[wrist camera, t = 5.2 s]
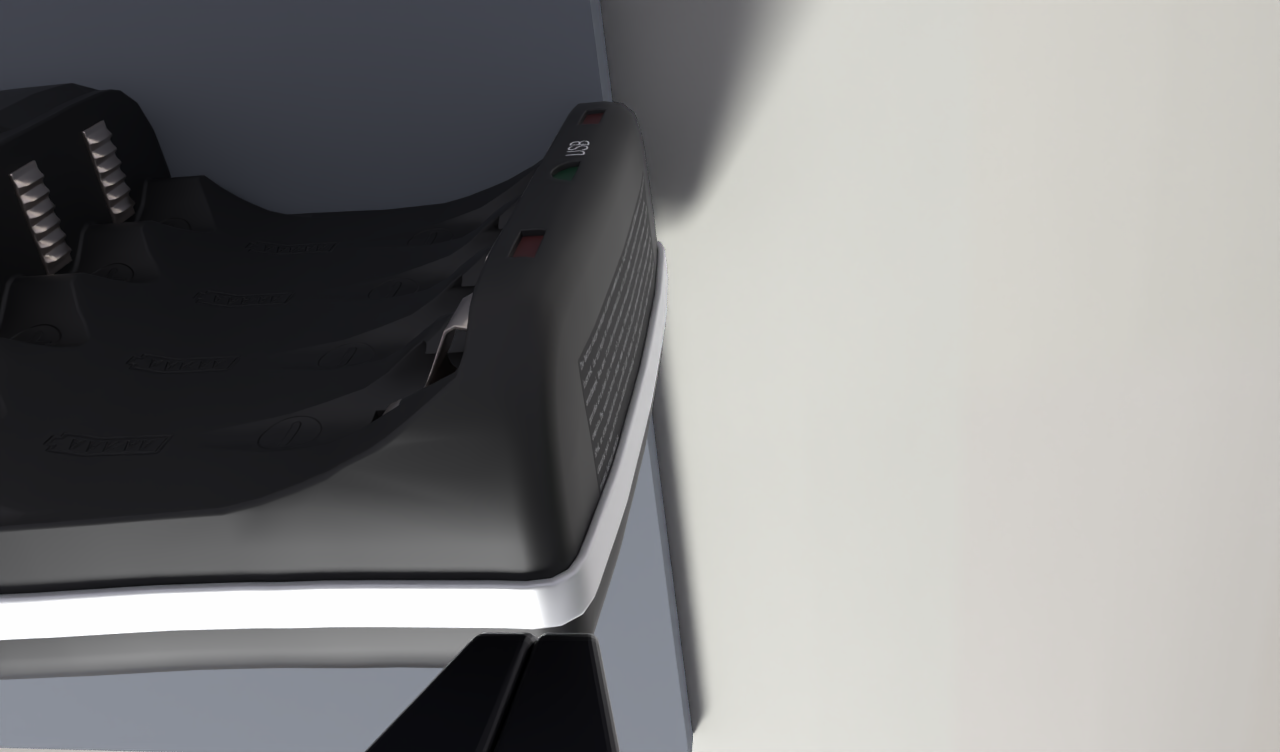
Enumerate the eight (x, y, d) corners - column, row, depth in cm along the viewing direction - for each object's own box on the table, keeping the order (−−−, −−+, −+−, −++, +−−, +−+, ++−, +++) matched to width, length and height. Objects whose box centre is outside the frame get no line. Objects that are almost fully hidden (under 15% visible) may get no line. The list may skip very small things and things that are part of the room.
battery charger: (535, 248, 7) (-926, 340, 9) (613, 709, 9) (-619, 711, 11) (655, 6, 13) (-233, 89, 15) (687, 310, 15) (-110, 354, 17)
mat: (482, -926, 10) (465, -954, 9) (693, 736, 20) (689, 765, 20) (-858, -642, 12) (-931, -652, 11) (-39, 720, 23) (-58, 746, 22)
